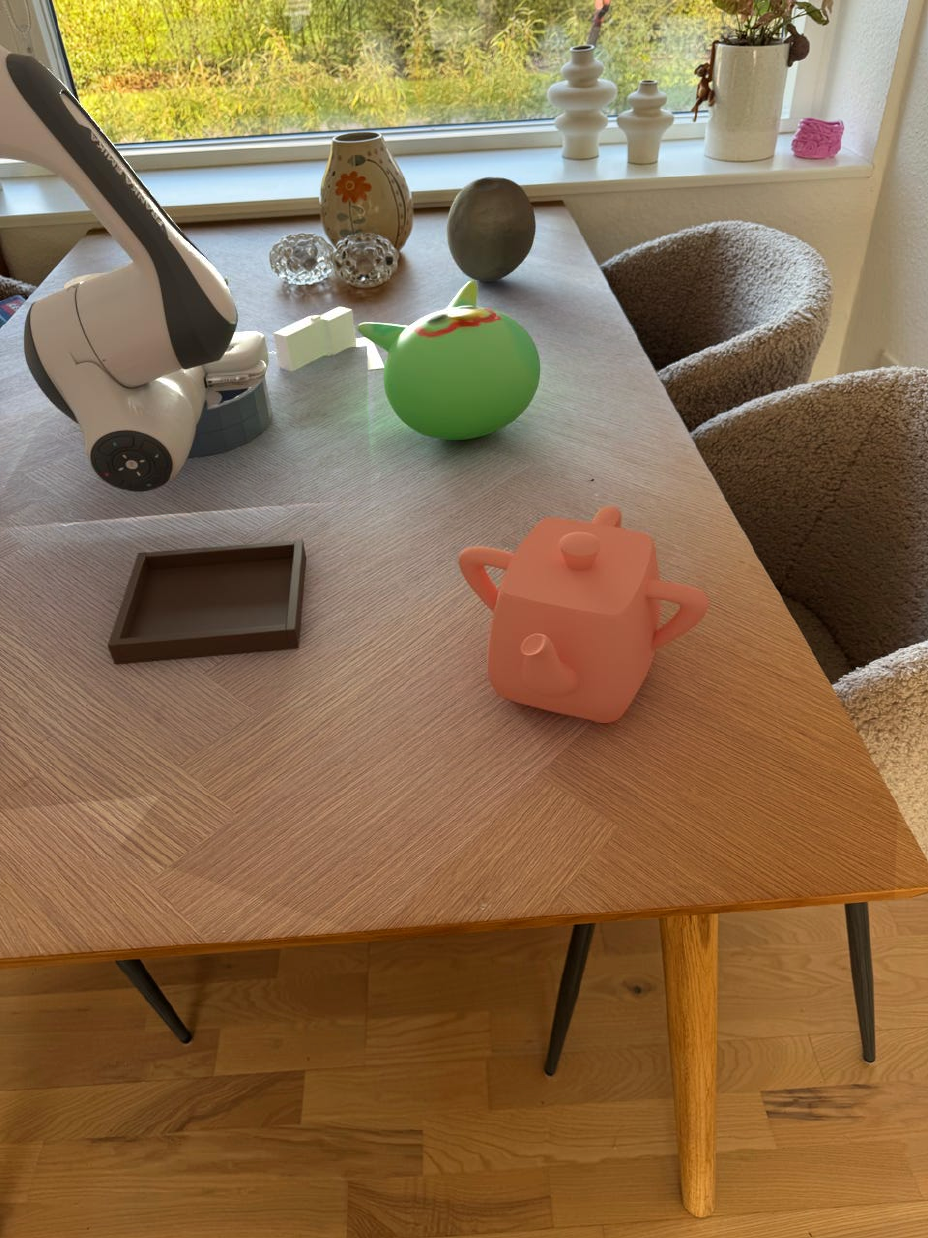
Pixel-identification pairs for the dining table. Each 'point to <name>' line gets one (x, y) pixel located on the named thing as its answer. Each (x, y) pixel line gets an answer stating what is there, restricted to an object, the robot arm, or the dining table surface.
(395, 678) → the dining table surface
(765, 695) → the dining table surface
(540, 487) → the dining table surface
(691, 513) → the dining table surface
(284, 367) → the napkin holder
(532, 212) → the grey stone egg
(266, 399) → the bowl
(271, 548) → the tray
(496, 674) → the teapot
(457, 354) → the green cartoon toy
